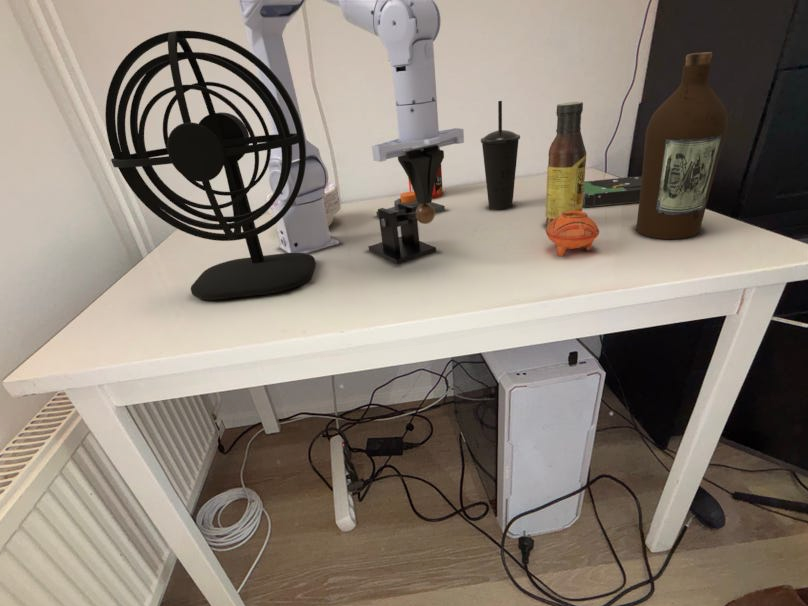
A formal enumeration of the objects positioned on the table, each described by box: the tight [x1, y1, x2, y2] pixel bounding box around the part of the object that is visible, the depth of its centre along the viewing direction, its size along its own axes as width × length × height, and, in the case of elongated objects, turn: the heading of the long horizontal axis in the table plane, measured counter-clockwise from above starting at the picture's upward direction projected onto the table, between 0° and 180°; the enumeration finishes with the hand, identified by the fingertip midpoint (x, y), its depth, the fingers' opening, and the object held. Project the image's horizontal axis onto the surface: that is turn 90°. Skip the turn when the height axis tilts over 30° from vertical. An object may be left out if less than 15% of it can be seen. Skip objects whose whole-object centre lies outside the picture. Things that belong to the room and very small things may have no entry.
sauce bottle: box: [545, 101, 587, 227], centre depth 83 cm, size 7×6×20 cm
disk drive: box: [582, 175, 642, 208], centre depth 98 cm, size 10×3×15 cm
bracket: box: [368, 203, 437, 265], centre depth 84 cm, size 10×8×8 cm
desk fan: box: [104, 30, 316, 301], centre depth 72 cm, size 27×18×35 cm, turn 92°
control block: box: [375, 197, 446, 218], centre depth 105 cm, size 12×9×3 cm
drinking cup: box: [480, 100, 521, 211], centre depth 97 cm, size 8×8×20 cm
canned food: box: [407, 145, 444, 200], centre depth 115 cm, size 8×8×11 cm
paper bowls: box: [264, 182, 341, 227], centre depth 103 cm, size 15×15×8 cm
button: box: [399, 191, 417, 203], centre depth 104 cm, size 4×4×2 cm
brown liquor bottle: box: [635, 51, 729, 240], centre depth 74 cm, size 11×11×25 cm
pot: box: [545, 211, 600, 257], centre depth 76 cm, size 8×8×7 cm
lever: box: [395, 204, 436, 227], centre depth 79 cm, size 12×3×3 cm, turn 32°
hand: (424, 202), depth 74 cm, fingers closed
